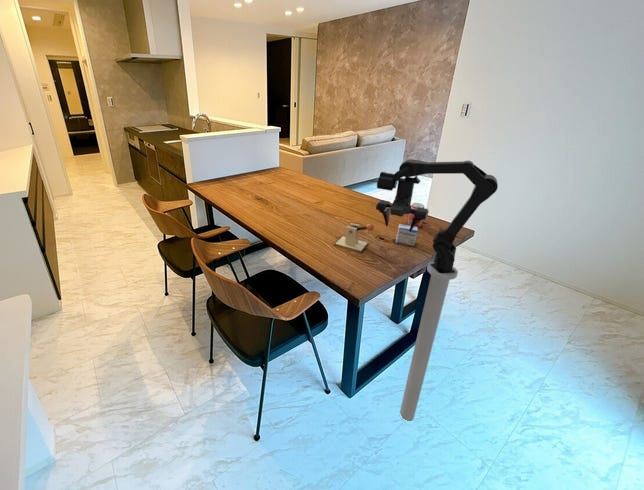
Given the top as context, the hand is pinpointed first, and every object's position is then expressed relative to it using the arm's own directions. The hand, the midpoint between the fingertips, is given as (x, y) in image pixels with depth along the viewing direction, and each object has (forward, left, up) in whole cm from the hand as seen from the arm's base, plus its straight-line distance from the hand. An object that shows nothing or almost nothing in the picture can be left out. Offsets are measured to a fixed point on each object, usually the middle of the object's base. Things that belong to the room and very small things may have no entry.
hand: (398, 228), depth 121 cm
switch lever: (+9, +11, -5) cm, 15 cm away
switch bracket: (+11, +15, -13) cm, 23 cm away
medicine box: (+10, -10, -13) cm, 20 cm away
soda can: (+28, -24, -13) cm, 40 cm away
